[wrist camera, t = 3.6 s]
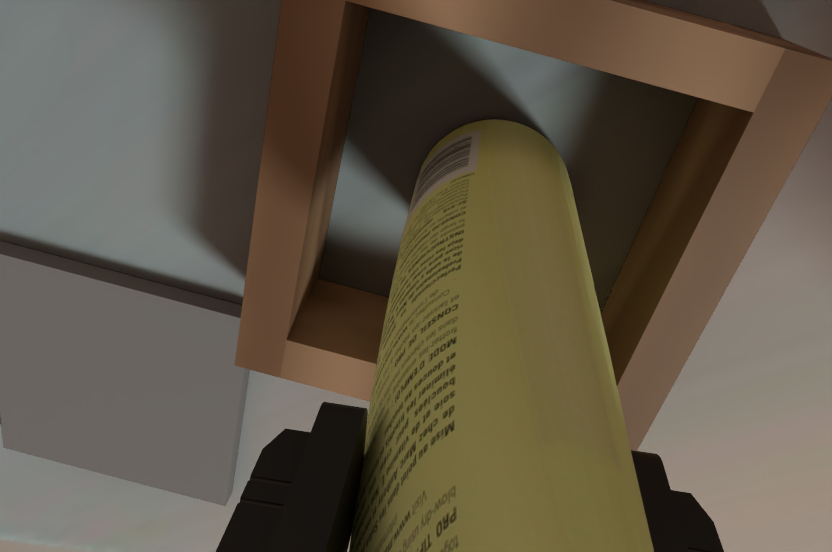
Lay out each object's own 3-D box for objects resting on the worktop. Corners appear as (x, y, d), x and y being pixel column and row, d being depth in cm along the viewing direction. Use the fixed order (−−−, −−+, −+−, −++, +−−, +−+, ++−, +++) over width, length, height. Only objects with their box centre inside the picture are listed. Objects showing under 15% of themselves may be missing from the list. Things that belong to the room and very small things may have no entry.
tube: (592, 253, 22) (879, 1398, 5) (449, 291, 23) (284, 1290, 6) (547, 91, 20) (791, 1169, 3) (391, 143, 21) (-115, 1078, 4)
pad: (258, 309, 25) (250, 320, 24) (232, 492, 30) (225, 506, 29) (-1, 240, 25) (-16, 249, 24) (15, 435, 29) (3, 447, 29)
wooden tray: (783, 39, 18) (849, 66, 15) (609, 392, 25) (626, 469, 21) (332, -86, 18) (292, -88, 15) (272, 302, 25) (234, 365, 21)
